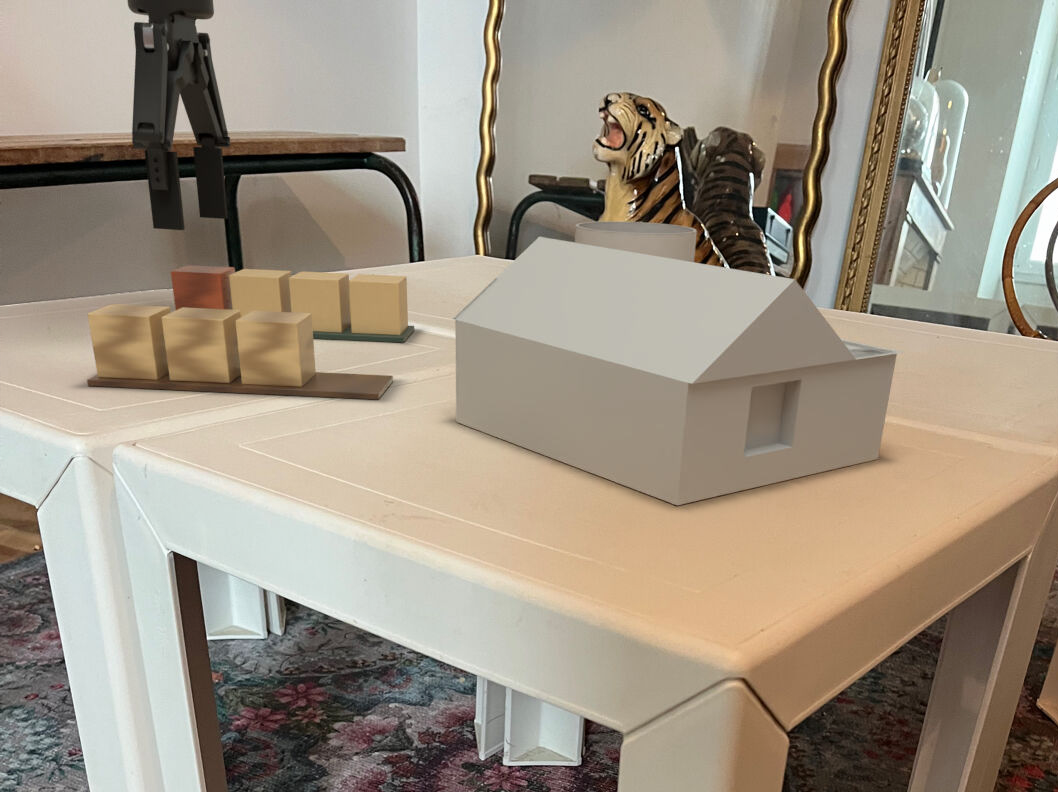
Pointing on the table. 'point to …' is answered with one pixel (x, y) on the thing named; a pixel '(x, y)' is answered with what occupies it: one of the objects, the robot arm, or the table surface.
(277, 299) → the block row
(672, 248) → the planter
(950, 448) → the table surface
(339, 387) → the front word
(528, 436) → the toy house
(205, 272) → the copper orange cube
